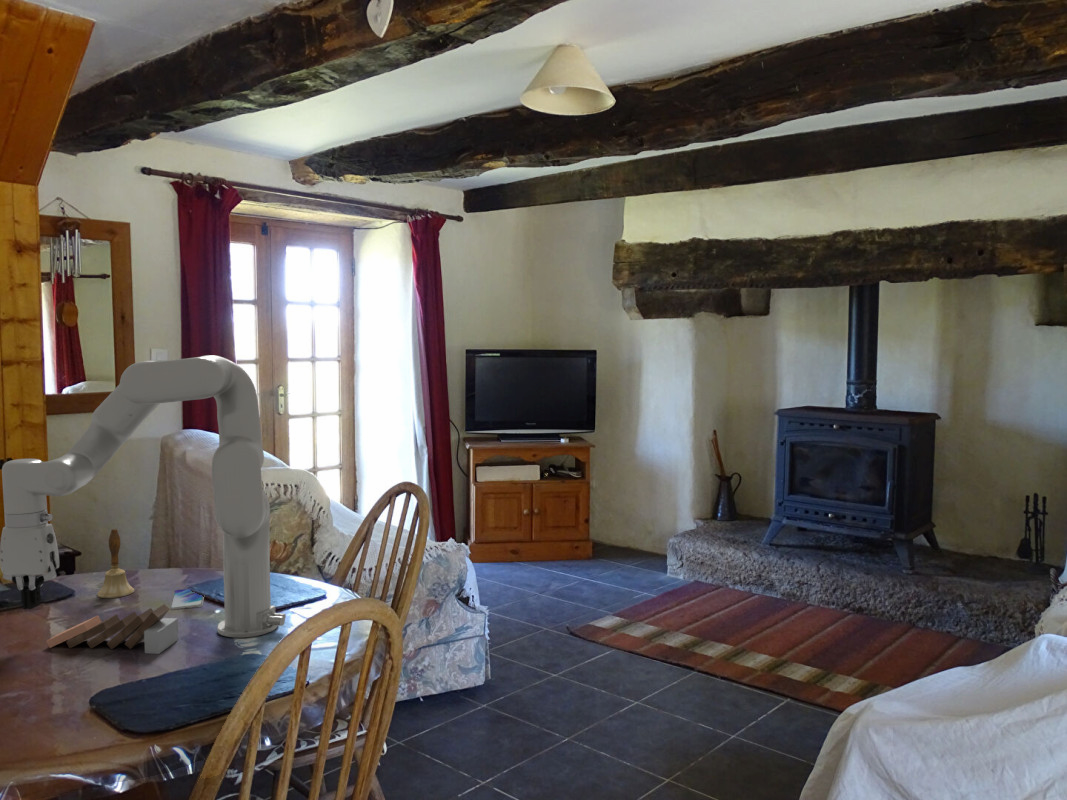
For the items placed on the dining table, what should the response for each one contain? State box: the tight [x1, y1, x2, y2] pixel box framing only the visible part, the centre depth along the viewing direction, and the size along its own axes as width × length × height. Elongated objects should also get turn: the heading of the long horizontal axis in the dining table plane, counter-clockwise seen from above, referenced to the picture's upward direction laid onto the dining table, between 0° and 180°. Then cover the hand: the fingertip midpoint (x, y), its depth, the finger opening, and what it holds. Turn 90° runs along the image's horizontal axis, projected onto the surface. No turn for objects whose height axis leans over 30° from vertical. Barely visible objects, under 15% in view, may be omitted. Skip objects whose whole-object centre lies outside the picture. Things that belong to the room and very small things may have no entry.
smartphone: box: [169, 587, 205, 611], centre depth 206 cm, size 7×1×15 cm
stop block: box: [143, 617, 179, 655], centre depth 174 cm, size 3×8×4 cm, turn 177°
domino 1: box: [46, 615, 102, 649], centre depth 175 cm, size 2×5×9 cm
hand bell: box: [96, 528, 135, 599], centre depth 209 cm, size 8×8×16 cm
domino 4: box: [106, 607, 154, 650], centre depth 175 cm, size 2×5×9 cm
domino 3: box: [86, 611, 139, 650], centre depth 175 cm, size 2×5×9 cm
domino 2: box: [65, 614, 121, 649], centre depth 175 cm, size 2×5×9 cm
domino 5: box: [124, 603, 170, 650], centre depth 174 cm, size 2×5×9 cm
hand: (31, 606), depth 176 cm, fingers closed
